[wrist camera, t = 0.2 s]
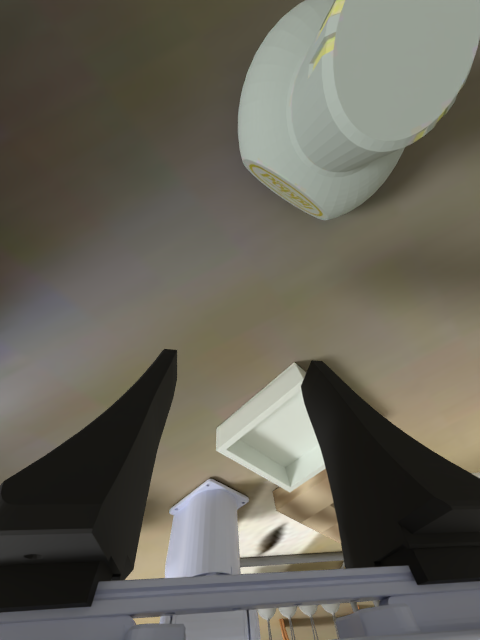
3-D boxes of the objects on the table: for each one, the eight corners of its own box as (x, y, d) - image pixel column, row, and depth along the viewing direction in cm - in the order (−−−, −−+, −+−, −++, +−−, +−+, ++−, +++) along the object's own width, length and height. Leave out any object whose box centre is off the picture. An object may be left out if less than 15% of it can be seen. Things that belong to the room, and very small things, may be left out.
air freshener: (393, 132, 17) (593, 24, 8) (327, 232, 20) (420, 238, 10) (277, 23, 14) (378, -342, 5) (218, 156, 17) (213, 71, 8)
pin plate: (333, 524, 39) (340, 543, 37) (272, 491, 34) (276, 510, 31) (412, 478, 35) (425, 495, 33) (358, 432, 30) (369, 449, 28)
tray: (283, 469, 32) (289, 492, 29) (216, 428, 28) (216, 450, 25) (357, 417, 29) (371, 437, 26) (294, 362, 25) (303, 379, 22)
